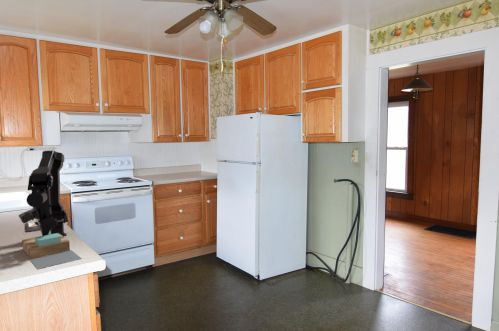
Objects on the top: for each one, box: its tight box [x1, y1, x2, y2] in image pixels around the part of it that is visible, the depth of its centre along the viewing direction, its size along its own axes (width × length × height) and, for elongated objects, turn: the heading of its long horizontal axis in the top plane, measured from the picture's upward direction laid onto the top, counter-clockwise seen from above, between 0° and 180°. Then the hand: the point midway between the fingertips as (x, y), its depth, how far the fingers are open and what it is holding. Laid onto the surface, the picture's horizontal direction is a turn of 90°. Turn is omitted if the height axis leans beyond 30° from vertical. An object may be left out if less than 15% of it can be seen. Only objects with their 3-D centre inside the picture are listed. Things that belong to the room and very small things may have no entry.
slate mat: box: [29, 249, 82, 270], centre depth 137 cm, size 13×15×1 cm
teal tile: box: [34, 233, 61, 247], centre depth 144 cm, size 6×8×2 cm
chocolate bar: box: [24, 221, 41, 233], centre depth 183 cm, size 9×1×18 cm
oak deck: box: [21, 233, 71, 259], centre depth 148 cm, size 16×14×4 cm
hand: (45, 238), depth 147 cm, fingers closed
